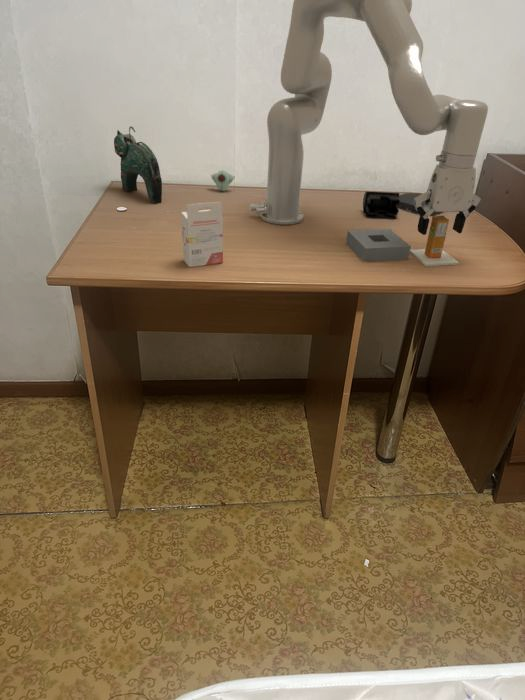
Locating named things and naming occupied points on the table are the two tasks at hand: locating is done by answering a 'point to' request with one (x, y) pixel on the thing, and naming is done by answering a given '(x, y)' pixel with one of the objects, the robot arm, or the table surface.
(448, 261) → the rubber mat
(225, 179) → the valved respirator
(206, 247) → the ink cartridge box
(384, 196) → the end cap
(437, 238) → the supplement box
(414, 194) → the media streaming box
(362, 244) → the pocket block
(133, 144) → the ceramic cat
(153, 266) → the table surface
